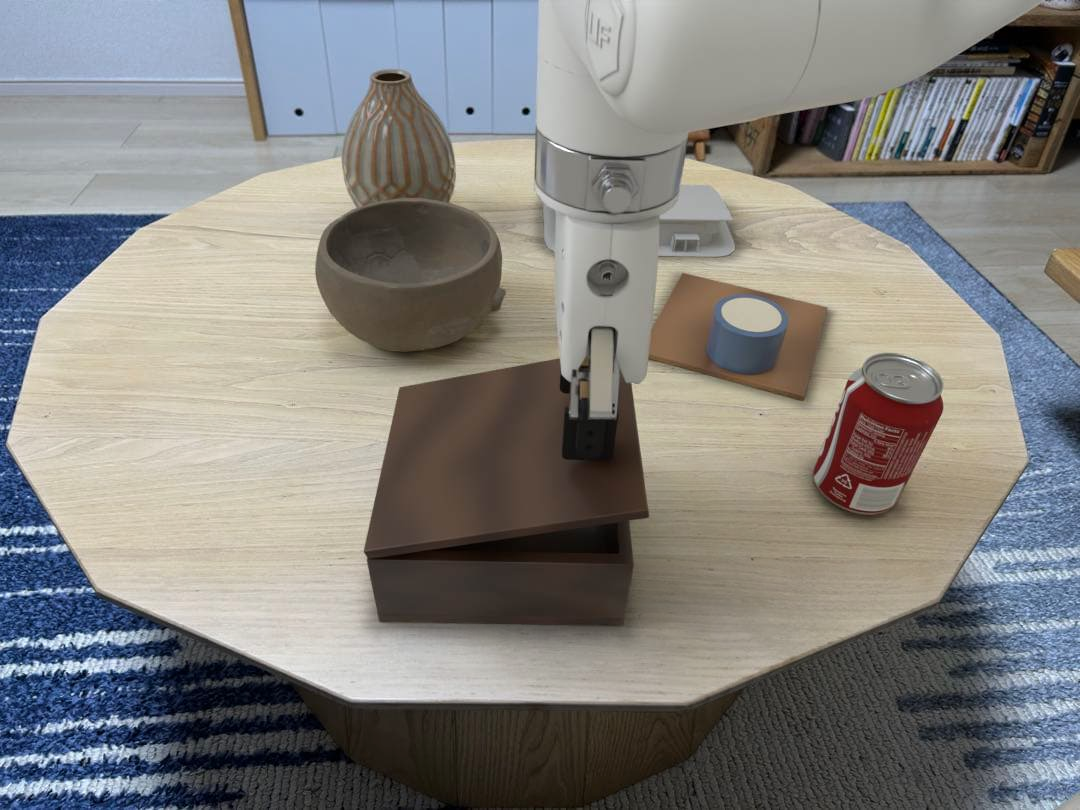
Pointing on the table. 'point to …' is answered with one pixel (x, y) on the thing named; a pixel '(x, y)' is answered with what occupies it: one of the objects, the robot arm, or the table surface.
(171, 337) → the table surface
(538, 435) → the lid
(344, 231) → the bowl
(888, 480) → the soda can
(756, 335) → the blue beige short cylinder
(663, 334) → the plate
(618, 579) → the chest
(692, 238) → the grey plastic case
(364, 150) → the vase
